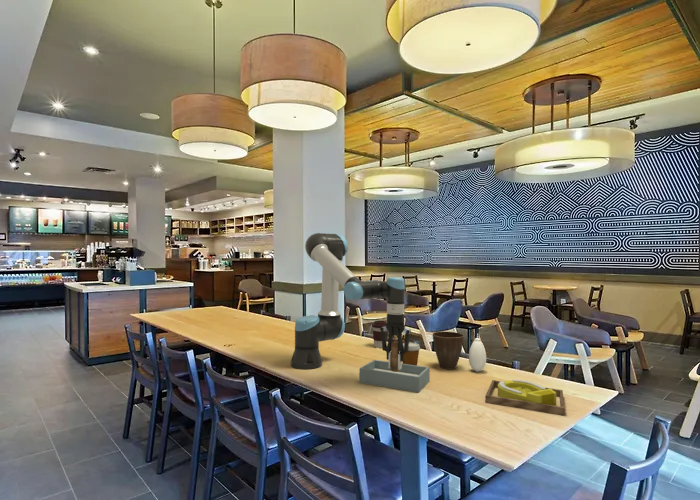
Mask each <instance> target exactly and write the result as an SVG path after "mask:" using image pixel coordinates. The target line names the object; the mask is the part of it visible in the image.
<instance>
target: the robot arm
mask: <svg viewBox="0 0 700 500" xmlns="http://www.w3.org/2000/svg"><path fill="white" fill-rule="evenodd" d="M304 245H305V246H304V248H305V252H306V254H307V256H308V257H309V258H310V259H311V260H312V261H313V262H316V263H318V264H319V265H320V266H321V267H322V272H321V273H322V274H321V276H322V277H321V298H320V301H321V303H320V310H319V311H318V313H317V315H304V316H301V317H298V318H297V319H296V321H295V323H294V350H293V354H292V357H291V360H290V366H291V368H294V369H299V370H312V369H316V368H321V367H322V365H323V360H322V359H323V358H322V356H321V353H320V350H319V349H320V348H319V345H320V342H326V341H330V340H331V341H333V340H336V339H339V338H340V337H342V335H343V334H344V331H345V328H346V323H345V321H344V318H343V317H342V316H341V315H342V314H341V312H339V287H340V286H341V287H342V288H343V294H344V297H345V298H346V299H347V300H350V301H357V300H367V299H386V312H387V313H386V323H387V324H386V326H385V327H381V328H380V330H381V333H382V348H381V349H382V351H384V352H385V353H386V360H387V361H388V362H389V367H388V368H391V342H394V341H393V340H394V336H395V337H396V339H397V342H398V345H399V354H398V370H400V369H401V368H402V364H403V363H402V362H403V361H404V353H407V352H408V349H409V342H410V334H411V331H412V330H411V329H410V328H407V327H406V325H405V294H406V293H405V291H406V290H405V288H406V286H405V279H404V278H403V277H400V276H398V277H397V276H390V277H387V279H386V281H385V280H375V279H373V280H371V279H370V280H369V281H363V280H360V278H358V277H357V276H356V275H355V274H354V273H353V272H352V271H351V270H350V269H349V268H348V267H347V266H346V265H345V264H344V263H342V262H343V260H344V259H343V257H345V256H346V255H347V253H348V250H349V248H348V247H349V246H348V241H347V239H346V238H345V237H344V236H343V235H342V234H338V233H322V232H321V233H320V232H316V233H313V234H311V235H309V236H308V238H307V239H306V241H305V244H304ZM386 329H387V330H388V337H387V339H386ZM403 332H404V341H403ZM403 343H404V347H403Z"/></svg>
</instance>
